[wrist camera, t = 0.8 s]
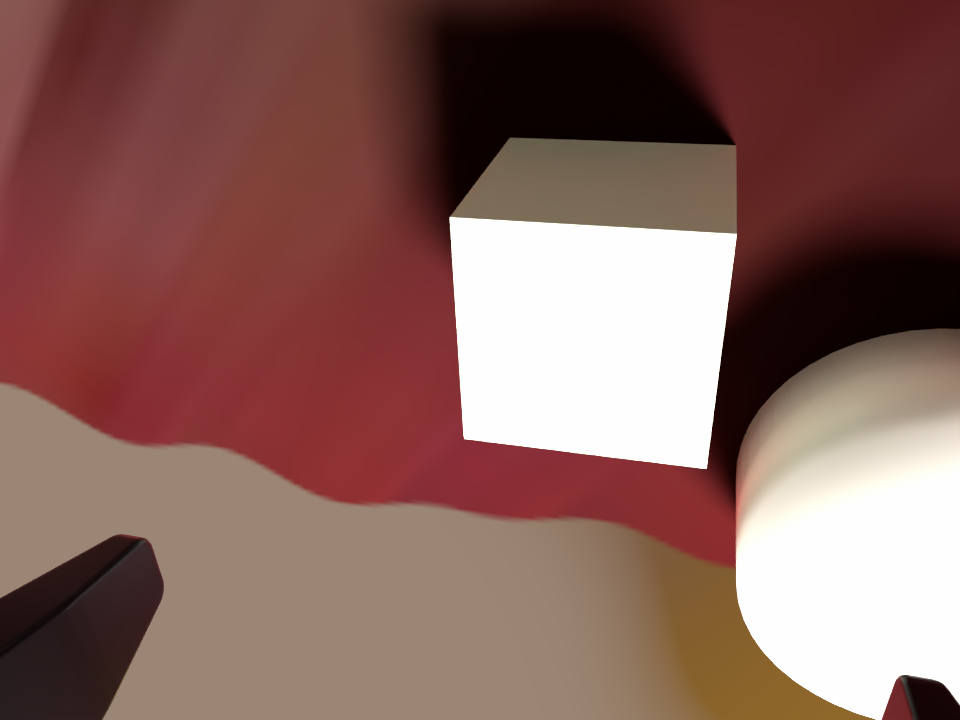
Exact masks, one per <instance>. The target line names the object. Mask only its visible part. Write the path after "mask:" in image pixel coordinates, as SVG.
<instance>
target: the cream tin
mask: <svg viewBox="0 0 960 720" xmlns="http://www.w3.org/2000/svg"><path fill="white" fill-rule="evenodd" d="M736 586H737V594H738V602H739V606H740V608H741V612H742V615H743V619H744V621H745V623H746V625H747V627H748V629H749V631H750V633H751V635H752V637H753V638H754V639H755V641H756V642H757V643H758V645H759V646H760V648H761V649H762V651H763V652H764V653H765V654H766V655H767V656H768V657H769V658H770V659H771V660H772V662H773V663H774V664H776V666H777V667H778V668H779V669H781V670H782V671H783V672H784V673H786V674H787V675H788V676H789V677H790V678H792V679H793V680H794V681H795V682H797V683H799V684H800V685H802V686H803V687H805V688H806V689H808V690H810V691H811V692H813V693H814V694H816V695H818V696H820V697H822V698H824V699H826V700H828V701H829V702H832V703H833V704H836V705H838V706H840V707H843V708H845V709H848V710H850V711H853V712H855V713H858V714H861V715H864V716H868V717H871V718H874V719H877V720H881V719H882V716H883V713H884V710H885V707H886V705H887V702H888V699H889V696H890V693H891V691H892V688H893V685H894V682H895V680H896V679H897V678H898V676H900V675H902V674H908V675H914V676H919V677H925V678H930V679H935V680H938V681H940V682H942V683H943V684H944V685H945V686H947V688H948V689H949V690H950V691H951V693H952V694H953V695H954V697H955V698H956V699H957V701H958V702H959V703H960V329H927V330H914V331H906V332H901V333H895V334H889V335H884V336H880V337H876V338H873V339H869V340H866V341H862V342H859V343H856V344H853V345H851V346H848V347H846V348H843V349H841V350H838V351H836V352H833V353H831V354H829V355H827V356H825V357H823V358H822V359H820V360H818V361H816V362H814V363H812V364H810V365H809V366H807V367H806V368H804V369H803V370H801V371H800V372H799V373H797V374H796V375H794V376H793V377H791V378H790V379H789V380H788V381H786V382H785V383H784V384H783V385H782V386H781V387H780V388H779V389H778V390H776V391H775V392H774V393H773V394H772V395H771V396H770V398H769V399H768V400H767V401H766V402H765V404H764V405H763V406H762V407H761V408H760V409H759V411H758V412H757V414H756V416H755V417H754V419H753V420H752V422H751V424H750V425H749V427H748V429H747V431H746V434H745V436H744V439H743V441H742V443H741V447H740V451H739V455H738V459H737V468H736Z"/></svg>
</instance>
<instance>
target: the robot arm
mask: <svg viewBox="0 0 960 720" xmlns="http://www.w3.org/2000/svg"><path fill="white" fill-rule="evenodd" d="M163 591H164V581H163V578H162V575H161V572H160V569H159V565H158V563H157V559H156V556H155V554H154V550H153V548H152V545H151V543H150V542H149V541H148V540H147V539H145V538H141V537H136V536H130V535H123V534H120V535H115V536H113V537H110V538H109V539H107V540H105V541H103V542H101V543H99V544H98V545H96V546H94V547H92V548H90V549H89V550H87V551H85V552H83V553H81V554H79V555H78V556H76V557H74V558H72V559H70V560H69V561H67V562H65V563H63V564H61V565H59V566H58V567H56V568H54V569H52V570H50V571H49V572H47V573H45V574H43V575H41V576H40V577H38V578H36V579H34V580H32V581H31V582H28V583H27V584H25V585H23V586H21V587H20V588H18V589H16V590H14V591H12V592H10V593H8V594H7V595H5V596H3V597H1V598H0V720H102V719H103V718H104V716H105V714H106V712H107V711H108V709H109V707H110V705H111V703H112V702H113V700H114V698H115V696H116V694H117V692H118V690H119V688H120V686H121V684H122V682H123V679H124V677H125V675H126V673H127V671H128V669H129V667H130V665H131V663H132V661H133V659H134V657H135V655H136V652H137V650H138V648H139V646H140V644H141V642H142V640H143V637H144V636H145V634H146V632H147V629H148V627H149V625H150V623H151V621H152V619H153V617H154V615H155V613H156V611H157V609H158V606H159V604H160V602H161V600H162V596H163ZM881 720H960V703H959V702H958V701H957V699H956V698H955V697H954V695H953V694H952V693H951V691H950V690H949V689H948V688H947V686H945V685H944V684H943V683H942V682H940V681H938V680H935V679H930V678H925V677H919V676H914V675H908V674H902V675H900V676H898V678H897V679H896V680H895V682H894V685H893V688H892V691H891V693H890V696H889V699H888V702H887V705H886V707H885V710H884V713H883V716H882V719H881Z"/></svg>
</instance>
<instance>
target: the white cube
mask: <svg viewBox="0 0 960 720" xmlns="http://www.w3.org/2000/svg"><path fill="white" fill-rule="evenodd" d="M450 230H451V246H452V261H453V276H454V292H455V307H456V323H457V338H458V353H459V369H460V384H461V399H462V415H463V430H464V439H470V440H478V441H486V442H494V443H502V444H510V445H518V446H527V447H535V448H543V449H551V450H559V451H567V452H575V453H583V454H591V455H599V456H607V457H615V458H623V459H631V460H639V461H647V462H655V463H663V464H671V465H679V466H687V467H696V468H704V469H707V461H708V453H709V445H710V438H711V430H712V422H713V414H714V407H715V399H716V391H717V383H718V376H719V368H720V360H721V352H722V345H723V337H724V329H725V321H726V313H727V306H728V298H729V290H730V282H731V275H732V267H733V259H734V251H735V244H736V236H737V201H736V145H712V144H682V143H653V142H624V141H594V140H565V139H535V138H509V140H508V141H507V142H506V144H505V145H504V146H503V148H502V149H501V150H500V152H499V153H498V154H497V155H496V157H495V158H494V159H493V161H492V162H491V163H490V165H489V166H488V167H487V169H486V170H485V171H484V173H483V174H482V175H481V177H480V178H479V179H478V181H477V182H476V183H475V185H474V186H473V187H472V188H471V190H470V191H469V192H468V194H467V195H466V196H465V198H464V199H463V200H462V202H461V203H460V204H459V206H458V207H457V208H456V210H455V211H454V212H453V214H452V215H451V216H450Z"/></svg>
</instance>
